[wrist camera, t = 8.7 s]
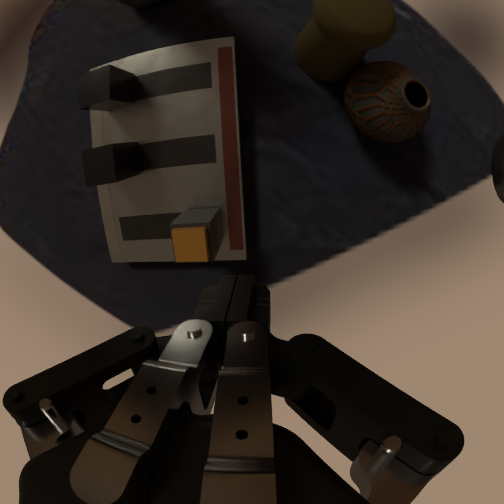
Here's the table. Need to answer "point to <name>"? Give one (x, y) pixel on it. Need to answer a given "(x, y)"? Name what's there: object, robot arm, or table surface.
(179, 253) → the breaker handle
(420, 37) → the table surface
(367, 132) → the vase
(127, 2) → the plastic bottle
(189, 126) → the breaker panel
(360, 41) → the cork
